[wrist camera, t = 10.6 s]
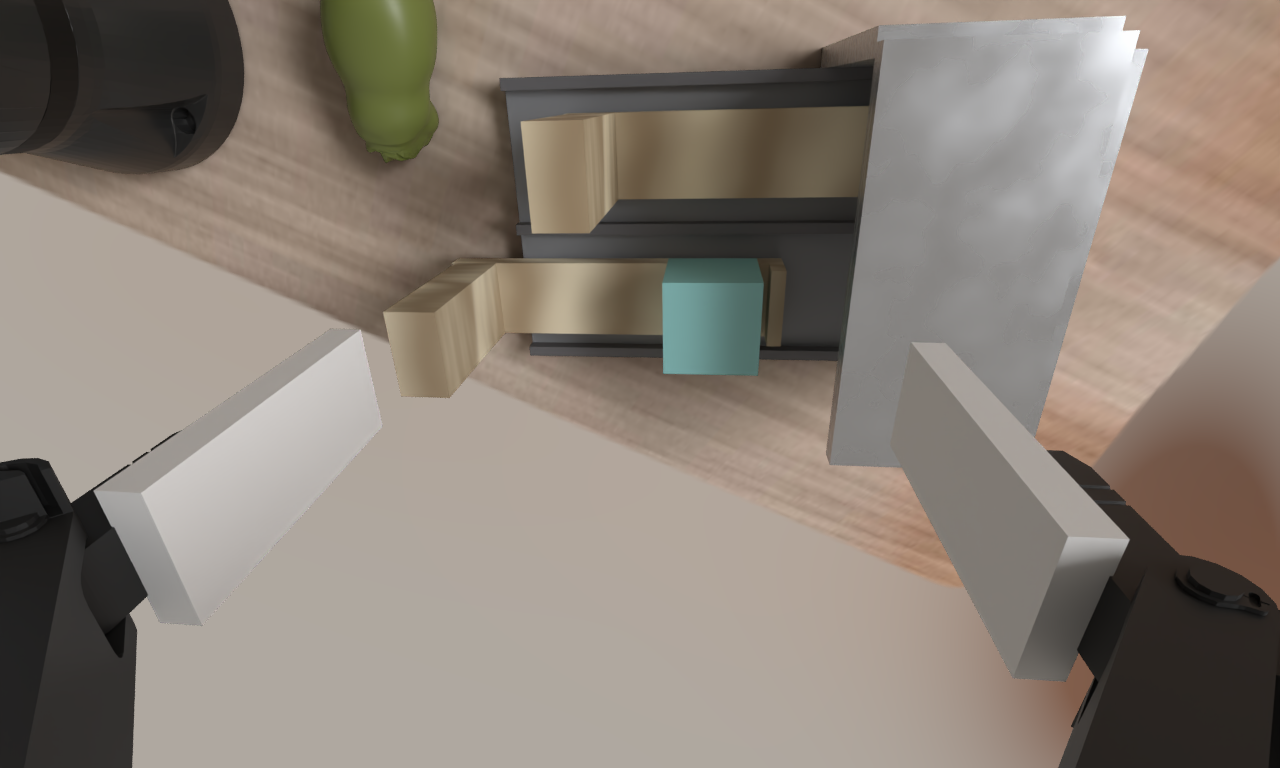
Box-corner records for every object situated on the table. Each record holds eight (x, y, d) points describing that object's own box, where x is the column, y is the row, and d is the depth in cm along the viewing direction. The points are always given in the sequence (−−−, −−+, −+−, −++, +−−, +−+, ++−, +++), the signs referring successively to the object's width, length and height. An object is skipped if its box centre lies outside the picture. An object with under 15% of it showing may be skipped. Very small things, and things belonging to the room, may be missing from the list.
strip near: (574, 196, 35) (526, 233, 26) (568, 113, 33) (514, 121, 24) (926, 192, 33) (1008, 231, 24) (941, 103, 31) (1037, 108, 22)
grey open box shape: (794, 354, 40) (829, 464, 28) (822, 47, 32) (886, 22, 20) (939, 357, 39) (1038, 472, 27) (1003, 41, 31) (1179, 11, 19)
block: (669, 339, 37) (663, 373, 33) (668, 258, 35) (662, 282, 30) (752, 340, 37) (758, 375, 32) (756, 258, 34) (763, 283, 30)
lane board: (538, 343, 41) (530, 355, 39) (510, 78, 34) (499, 78, 32) (908, 349, 39) (917, 361, 37) (958, 64, 32) (973, 63, 30)
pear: (407, -42, 28) (423, 179, 33) (450, -43, 32) (458, 153, 38) (286, -62, 28) (323, 161, 33) (346, -61, 32) (370, 137, 38)
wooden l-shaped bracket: (469, 325, 39) (396, 396, 30) (459, 258, 38) (377, 312, 28) (776, 329, 37) (797, 406, 28) (781, 258, 35) (805, 316, 26)
